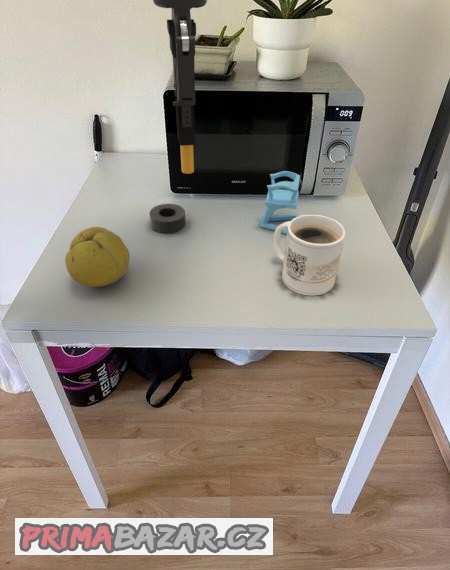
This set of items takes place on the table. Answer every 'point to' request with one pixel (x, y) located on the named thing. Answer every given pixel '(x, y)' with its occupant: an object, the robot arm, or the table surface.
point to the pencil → (187, 159)
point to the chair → (280, 199)
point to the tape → (167, 218)
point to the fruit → (97, 257)
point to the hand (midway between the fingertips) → (186, 140)
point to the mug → (310, 253)
